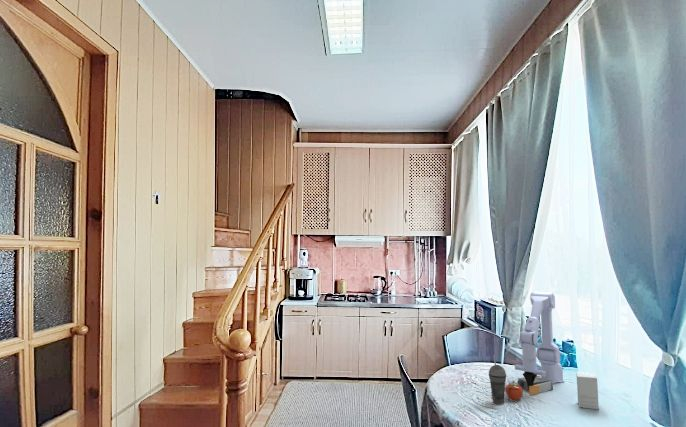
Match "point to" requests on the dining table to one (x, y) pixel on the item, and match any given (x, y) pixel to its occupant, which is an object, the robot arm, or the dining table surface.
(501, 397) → the beverage cup
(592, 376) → the supplement box
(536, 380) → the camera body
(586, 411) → the dining table surface
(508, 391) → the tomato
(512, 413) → the dining table surface
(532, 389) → the side door
